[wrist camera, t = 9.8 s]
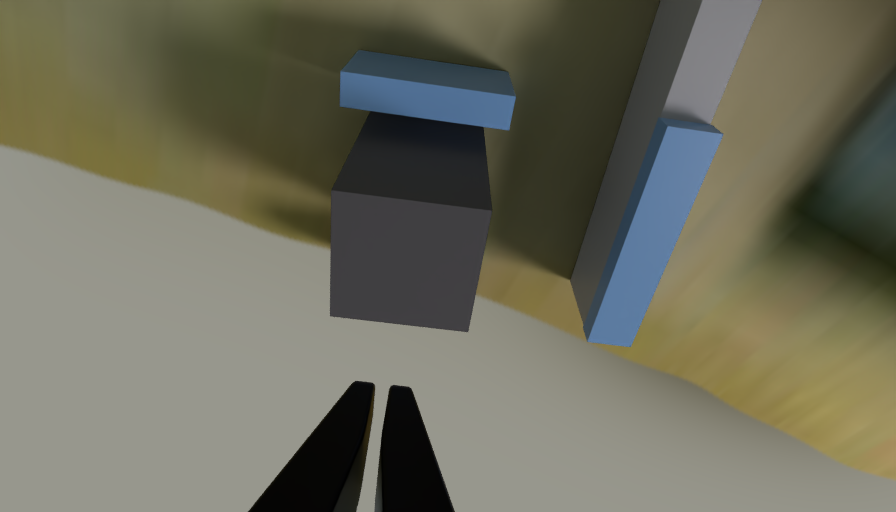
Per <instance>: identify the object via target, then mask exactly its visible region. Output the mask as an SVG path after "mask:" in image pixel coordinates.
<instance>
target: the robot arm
mask: <svg viewBox="0 0 896 512" xmlns="http://www.w3.org/2000/svg"><path fill="white" fill-rule="evenodd" d="M374 396H375V385H374V384H373V383H370V382H362V381H355V382H353V383H352V384H351V385H350V386H349V388H348V389H347V390H346V392H345V393H344V394H343V395H342V396H341V398H340V399H339V400H338V401H337V403H336V404H335V405H334V406H333V407H332V409H331V410H330V411H329V413H328V414H327V415H326V416H325V417H324V419H323V420H322V421H321V422H320V424H319V425H318V426H317V427H316V428H315V430H314V431H313V432H312V433H311V435H310V436H309V437H308V438H307V440H306V441H305V442H304V443H303V444H302V446H301V447H300V448H299V450H298V451H297V452H296V453H295V454H294V456H293V457H292V458H291V459H290V461H289V462H288V463H287V464H286V466H285V467H284V468H283V469H282V470H281V472H280V473H279V474H278V475H277V477H276V478H275V479H274V481H273V482H272V483H271V484H270V485H269V486H268V488H267V489H266V490H265V491H264V493H263V494H262V495H261V496H260V498H259V499H258V500H257V501H256V502H255V504H254V505H253V506H252V508H251V509H250V510H249V511H248V512H356V510H357V506H358V502H359V498H360V492H361V487H362V481H363V475H364V469H365V462H366V456H367V450H368V443H369V437H370V431H371V424H372V418H373V408H374ZM375 512H455V511H454V508H453V506H452V503H451V500H450V497H449V494H448V491H447V488H446V485H445V482H444V480H443V477H442V474H441V471H440V468H439V465H438V462H437V460H436V457H435V454H434V451H433V448H432V445H431V443H430V440H429V437H428V434H427V431H426V428H425V425H424V422H423V420H422V417H421V414H420V411H419V408H418V405H417V402H416V400H415V397H414V394H413V391H412V389H411V388H410V387H406V386H397V385H393V386H391V387H390V389H389V394H388V400H387V406H386V412H385V418H384V424H383V430H382V437H381V447H380V457H379V467H378V477H377V488H376V497H375Z"/></svg>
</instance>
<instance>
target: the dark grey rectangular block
mask: <svg viewBox="0 0 896 512" xmlns="http://www.w3.org/2000/svg"><path fill="white" fill-rule="evenodd" d="M491 214H492V205H491V195H490V185H489V176H488V166H487V157H486V147H485V137H484V128H483V127H481V126H474V125H467V124H460V123H453V122H446V121H439V120H431V119H424V118H417V117H410V116H403V115H396V114H389V113H382V112H375V111H371V112H370V114H369V116H368V118H367V120H366V122H365V124H364V126H363V128H362V130H361V132H360V134H359V136H358V138H357V140H356V142H355V144H354V146H353V148H352V150H351V152H350V154H349V156H348V158H347V160H346V162H345V164H344V166H343V168H342V170H341V172H340V174H339V176H338V178H337V180H336V182H335V184H334V186H333V188H332V190H331V275H330V277H331V278H330V316H333V317H342V318H350V319H360V320H367V321H376V322H385V323H393V324H402V325H411V326H419V327H428V328H437V329H445V330H454V331H463V332H468V330H469V325H470V320H471V315H472V309H473V305H474V300H475V295H476V290H477V285H478V280H479V275H480V270H481V265H482V259H483V254H484V249H485V244H486V239H487V234H488V229H489V224H490V219H491Z"/></svg>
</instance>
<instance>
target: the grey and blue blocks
mask: <svg viewBox="0 0 896 512" xmlns="http://www.w3.org/2000/svg"><path fill="white" fill-rule="evenodd" d="M761 2H762V0H661V1H660V4H659V7H658V10H657V13H656V16H655V19H654V22H653V26H652V29H651V32H650V35H649V38H648V41H647V44H646V47H645V50H644V53H643V57H642V60H641V63H640V66H639V69H638V72H637V75H636V78H635V81H634V84H633V88H632V91H631V94H630V97H629V100H628V103H627V106H626V109H625V112H624V116H623V119H622V122H621V125H620V128H619V131H618V134H617V137H616V140H615V143H614V147H613V150H612V153H611V156H610V159H609V162H608V165H607V168H606V171H605V175H604V178H603V181H602V184H601V187H600V190H599V193H598V196H597V199H596V202H595V206H594V209H593V212H592V215H591V218H590V221H589V224H588V227H587V230H586V233H585V237H584V240H583V243H582V246H581V249H580V252H579V255H578V258H577V261H576V265H575V268H574V271H573V274H572V277H571V280H570V282H571V285H572V288H573V292H574V295H575V298H576V302H577V305H578V308H579V312H580V315H581V318H582V321H583V325H584V326H583V329H584V332H585V336H586V339H587V342H593V343H601V344H610V345H618V346H626V347H631V345H632V343H633V340H634V338H635V336H636V334H637V331H638V329H639V327H640V324H641V322H642V320H643V318H644V315H645V313H646V311H647V308H648V306H649V304H650V302H651V299H652V297H653V295H654V292H655V290H656V288H657V285H658V283H659V281H660V279H661V276H662V274H663V272H664V269H665V267H666V265H667V263H668V260H669V258H670V256H671V253H672V251H673V249H674V246H675V244H676V242H677V240H678V237H679V235H680V233H681V230H682V228H683V226H684V224H685V221H686V219H687V217H688V214H689V212H690V210H691V208H692V205H693V203H694V201H695V198H696V196H697V194H698V191H699V189H700V187H701V185H702V182H703V180H704V178H705V175H706V173H707V171H708V169H709V166H710V164H711V162H712V159H713V157H714V155H715V153H716V150H717V148H718V146H719V143H720V141H721V139H722V136H723V133H721V132H720V131H719V130H718V129H716V128H715V127H714V126H713V125H710V124H711V121H712V119H713V117H714V114H715V112H716V110H717V107H718V105H719V102H720V100H721V98H722V95H723V93H724V90H725V88H726V86H727V83H728V81H729V78H730V76H731V74H732V71H733V69H734V66H735V64H736V62H737V59H738V57H739V54H740V52H741V50H742V47H743V45H744V42H745V40H746V38H747V35H748V33H749V31H750V28H751V26H752V23H753V21H754V19H755V16H756V14H757V11H758V9H759V7H760V4H761ZM515 99H516V95H515V92H514V89H513V86H512V82H511V79H510V76H509V73H508V72H506V71H499V70H492V69H486V68H479V67H472V66H465V65H458V64H452V63H445V62H438V61H431V60H424V59H417V58H411V57H404V56H397V55H390V54H383V53H377V52H370V51H363V50H358V51H357V53H356V54H355V55H354V56H353V57H352V58H351V60H350V61H349V62H348V63H347V64H346V66H345V67H344V68H343V69H342V70H341V74H340V107H346V108H353V109H360V110H368V111H375V112H382V113H389V114H396V115H403V116H410V117H417V118H424V119H431V120H439V121H446V122H453V123H460V124H467V125H474V126H481V127H488V128H495V129H502V130H509V128H510V123H511V118H512V113H513V108H514V104H515Z"/></svg>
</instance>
